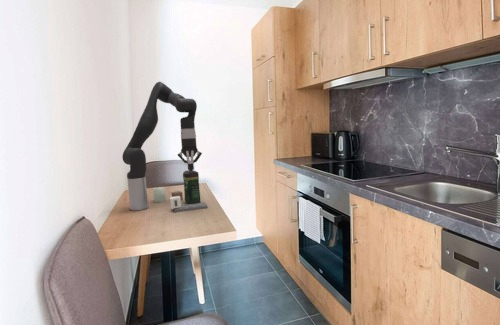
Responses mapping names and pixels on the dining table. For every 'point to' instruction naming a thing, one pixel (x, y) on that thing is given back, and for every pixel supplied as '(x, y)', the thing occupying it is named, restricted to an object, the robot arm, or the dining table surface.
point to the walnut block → (177, 194)
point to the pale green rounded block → (159, 194)
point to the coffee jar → (191, 187)
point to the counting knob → (175, 202)
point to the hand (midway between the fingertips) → (190, 170)
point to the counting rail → (190, 207)
